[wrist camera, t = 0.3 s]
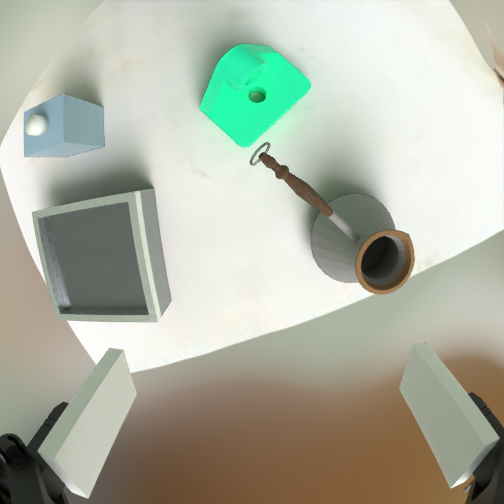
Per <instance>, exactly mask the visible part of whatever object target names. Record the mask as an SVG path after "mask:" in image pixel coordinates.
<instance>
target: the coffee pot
mask: <svg viewBox="0 0 504 504" xmlns="http://www.w3.org/2000/svg"><path fill="white" fill-rule="evenodd" d="M265 145H268V147H267V149H266V151H265V152H262V153H261V154H260V155H259V159H258V160H257V161H256V162H255V163H252V161H253V159H254V157H255V155H256V154H257V152H258V151H259V150H260V149H261V148H263V147H264V146H265ZM269 148H270V143H269V142H266V143H264V144H263V145H261V146H260V147H259V148H258V149H257V150H256V151H255V153H254V154H253V156H252V158H251V160H250V165H252V166H253V165H256V164H257V163H259V162H260V161H262V162H263V163H264V164H265V166H266V167H268V168H271V169H272V170H273V171H275V174H276V177H277V178H278V179H284V180H285V182H286V183H287V184H288V185H289V186H290V187H291V188H292V189H293V190H294V192H295V193H296V194H297V195H298V196H300V197H301V198H302V199H304V200H305V201H306V202H308V203H309V204H310V205H312V206H313V207H314V208H316V209H317V210H318V211H320V213H319V215H318V216H317V218H316V220H315V222H314V225H313V228H312V231H311V249H312V254H313V257H314V259H315V261H316V263H317V265H318V267H319V268H320V269H321V270H322V271H323V272H324V273H325V274H326V275H328V276H329V277H331V278H333V279H334V280H337V281H341V282H344V283H360V284H361V285H362V287H363V288H364V289H366V290H367V291H369V292H371V293H374V294H388V293H391V292H394V291H395V290H397V289H399V288H400V287H401V286H402V285H403V284H404V283H405V282H406V281H407V279H408V278H409V276H410V275H411V272H412V270H413V267H414V260H415V257H414V249H413V245H412V241H411V239H410V236H409V234H407V233H404V232H402V231H398V230H396V229H395V225H394V222H393V220H392V217H391V215H390V213H389V212H388V210H387V209H386V208H385V207H384V205H383V204H381V203H380V202H379V201H377V200H376V199H375V198H373V197H370V196H367V195H365V194H353V193H352V194H348V195H343V196H340V197H338V198H336V199H334V200H333V201H331V202H329V203H328V204H327V203H326V202H325V201H324V200H323V199H322V198H321V197H320V196H319V195H318V194H317V193H316V192H315V191H314V190H313V189H312V188H311V187H310V186H309V185H308V184H307V183H306V182H304V181H303V180H301V179H299V178H298V177H296V176H295V175H293V174H292V173H290V172H289V169H288V167H287V166H285V165H280V164H278V163H277V162H276V160H275V159H274V158H273V157H271V156H270V155H267V152H268V151H269Z"/></svg>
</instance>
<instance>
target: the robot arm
mask: <svg viewBox="0 0 504 504" xmlns="http://www.w3.org/2000/svg"><path fill="white" fill-rule="evenodd" d="M399 390H400V391H401V393H402V395H403V397H404V399H405V401H406V402H407V404H408V406H409V408H410V410H411V411H412V413H413V415H414V417H415V419H416V421H417V422H418V424H419V426H420V428H421V430H422V432H423V434H424V436H425V438H426V440H427V442H428V444H429V446H430V447H431V450H432V452H433V454H434V455H435V458H436V460H437V462H438V464H439V465H440V468H441V470H442V472H443V474H444V476H445V478H446V480H447V482H448V484H449V486H450V488H452V487H455V486H457V485H459V484H461V483H463V482H465V481H466V480H467V479H468V478H469V477H470V476H471V474H472V473H473V475H474V477H475V478H474V479H473V481H472V482H471V483H470V484H469V485H468V486H467V487H466V488H465V489H464V491H463V493H465V492H466V491H467V490H468V489H469V488H470V490H469V493H468V497H467V500H466V503H465V504H504V428H503V426H502V425H501V424H500V422H499V421H498V420H497V418H496V417H495V416H494V414H492V412H491V411H490V409H489V408H487V405H486V404H485V403H484V401H483V400H482V399H481V398H480V397H479V396H477V395H476V394H474V393H472V392H471V393H469V394H467V393H466V391H465V390H464V389H463V387H462V386H461V385H460V384H459V382H458V381H457V380H456V379H455V377H454V376H453V375H452V374H451V372H450V371H449V370H448V369H447V367H446V366H445V365H444V364H443V362H442V361H441V360H440V359H439V358H438V357H437V355H436V354H435V353H434V352H433V351H432V349H431V348H430V347H429V346H428V344H427V343H426V342H425V343H419V344H413V345H412V349H411V352H410V356H409V359H408V362H407V366H406V369H405V372H404V375H403V378H402V382H401V385H400V388H399ZM136 395H137V393H136V390H135V387H134V384H133V380H132V377H131V374H130V371H129V367H128V364H127V360H126V357H125V353H124V350H121V349H113V348H109V349H108V351H107V352H106V353H105V355H104V356H103V357H102V359H101V360H100V361H99V363H98V364H97V365H96V367H95V368H94V370H93V371H92V372H91V374H90V375H89V376H88V378H87V379H86V380H85V382H84V383H83V385H82V386H81V388H80V389H79V390H78V392H77V393H76V395H75V396H74V397H73V399H72V400H71V402H70V403H65V402H62V403H61V404H59V405H58V406H57V407H55V408H54V409H53V410H52V412H51V413H50V414H49V416H48V418H47V419H46V420H45V422H44V424H43V425H42V426H41V427H40V429H39V430H38V431H37V433H36V434H35V436H34V437H33V439H32V440H31V442H30V443H29V445H28V446H27V447H26V446H25V444H24V443H23V442H22V440H21V439H20V438H19V437H18V436H17V435H14V434H5V435H2V436H1V437H0V504H69V502H68V500H67V497H66V495H65V493H64V491H63V489H64V487H65V485H66V486H67V487H68V488H69V489H70V491H71V492H73V493H75V494H78V495H80V496H83V497H85V498H89V496H90V494H91V492H92V489H93V487H94V485H95V483H96V480H97V478H98V475H99V473H100V471H101V469H102V466H103V465H104V462H105V460H106V458H107V456H108V454H109V451H110V449H111V447H112V445H113V442H114V440H115V438H116V436H117V434H118V432H119V430H120V428H121V426H122V424H123V422H124V419H125V417H126V415H127V413H128V411H129V409H130V407H131V405H132V403H133V401H134V398H135V397H136Z"/></svg>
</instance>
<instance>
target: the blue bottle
mask: <svg viewBox="0 0 504 504" xmlns="http://www.w3.org/2000/svg"><path fill="white" fill-rule="evenodd" d="M102 147H105V137H104V110H103V107H101V106H99V105H96V104H93V103H90V102H87V101H84V100H81V99H78V98H75V97H72V96H69V95H66V94H62V95H60V96H57V97H55V98H53V99H51V100H48V101H46V102H44V103H42V104H40V105H38V106H36V107H34V108H32V109H29V110H27V111H26V112H24V157H70V156H73V155H77V154H80V153H84V152H87V151H91V150H95V149H98V148H102Z"/></svg>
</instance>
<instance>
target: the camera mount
mask: <svg viewBox="0 0 504 504" xmlns="http://www.w3.org/2000/svg"><path fill="white" fill-rule="evenodd" d="M310 88H311V82H310V81H309V79H308V78H306V77H305V76H304V75H303V74H302V73H301V72H300V71H299V70H298V69H296V68H295V67H294V66H293V65H292V64H291V63H289V62H288V61H287V60H286V59H285V58H284V57H282V56H281V55H280V54H279V53H278V52H276V51H275V50H274V49H273V48H271V47H270V46H266V45H252V44H240V45H237V46H235V47H233V48H232V49H231V50H229V51H228V52H227V53H226V54H225V55H224V56H223V57H222V58H221V59H220V61H219V62H218V64H217V66H216V68H215V70H214V73H213V75H212V77H211V80H210V82H209V85H208V87H207V90H206V92H205V95H204V97H203V100H202V102H201V105H200V108H199V109H200V110H201V111H202V112H203V113H204V114H205V115H206V116H207V117H208V118H210V119H211V120H212V121H213V122H214V123H215V124H216V125H217V126H218V127H220V128H221V129H222V130H223V131H224V132H225V133H226V134H227V135H228V136H229V137H230V138H231V139H233V140H234V141H235V142H236V143H237V144H238V145H239V146H241V147H244V148H246V147H249V146H251V145H252V144H253V143H254V142H255V141H256V140H257V139H258V138H259V137H260V136H261V135H262V134H263V133H264V132H266V131H267V130H268V129H269V128H270V127H271V126H272V125H274V124H275V123H276V122H277V121H278V120H279V119H280V118H281V117H282V116H283V115H284V114H285V113H286V112H288V111H289V110H290V109H291V108H292V106H293V105H294V104H295V103H297V102H298V101H299V100H300V99H301V98H302V97H303V96H304V95H306V94H307V93H308V91H309V90H310ZM254 92H261V93H263V94H264V95H265V97H266V98H265V100H264V101H262V102H260V103H254V102H252V101H251V100H250V99H249V96H250V95H251V94H252V93H254Z"/></svg>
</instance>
